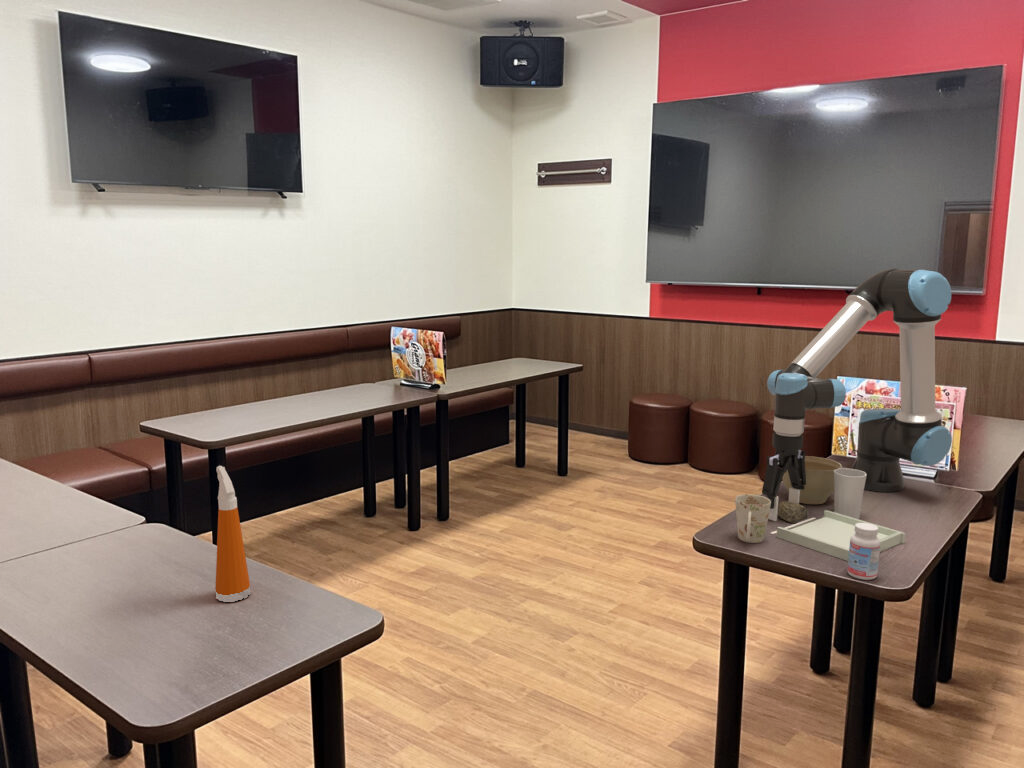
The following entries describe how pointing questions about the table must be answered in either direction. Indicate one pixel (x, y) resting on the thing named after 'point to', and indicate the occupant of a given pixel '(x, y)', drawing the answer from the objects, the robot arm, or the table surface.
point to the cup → (848, 491)
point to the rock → (791, 512)
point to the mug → (752, 517)
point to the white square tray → (836, 535)
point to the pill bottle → (864, 552)
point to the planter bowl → (816, 480)
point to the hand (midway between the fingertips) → (782, 515)
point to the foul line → (795, 524)
